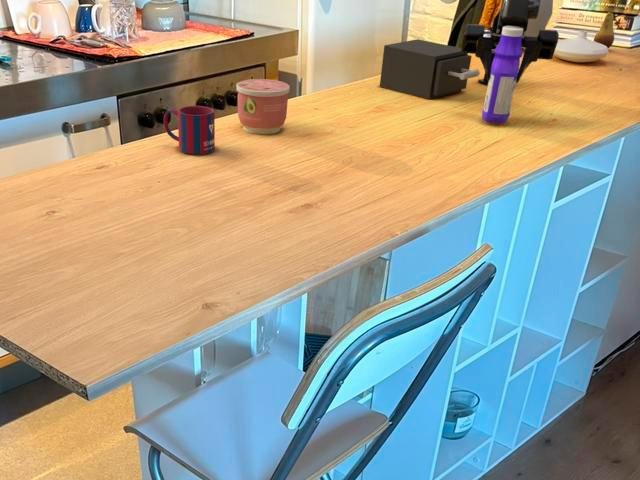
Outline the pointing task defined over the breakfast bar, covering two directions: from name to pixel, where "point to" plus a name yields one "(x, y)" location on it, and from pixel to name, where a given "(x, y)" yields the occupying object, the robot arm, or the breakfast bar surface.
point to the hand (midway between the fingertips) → (502, 80)
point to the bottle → (503, 76)
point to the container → (262, 105)
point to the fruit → (606, 31)
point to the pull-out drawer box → (452, 74)
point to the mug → (194, 129)
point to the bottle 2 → (539, 19)
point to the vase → (580, 49)
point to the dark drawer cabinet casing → (414, 66)
